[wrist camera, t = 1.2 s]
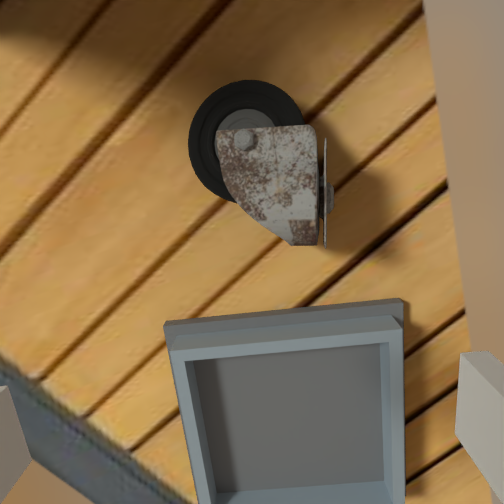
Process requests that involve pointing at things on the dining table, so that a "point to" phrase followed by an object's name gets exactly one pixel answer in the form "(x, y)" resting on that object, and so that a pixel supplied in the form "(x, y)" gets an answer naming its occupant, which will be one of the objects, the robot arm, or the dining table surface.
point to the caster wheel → (262, 159)
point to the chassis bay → (294, 404)
